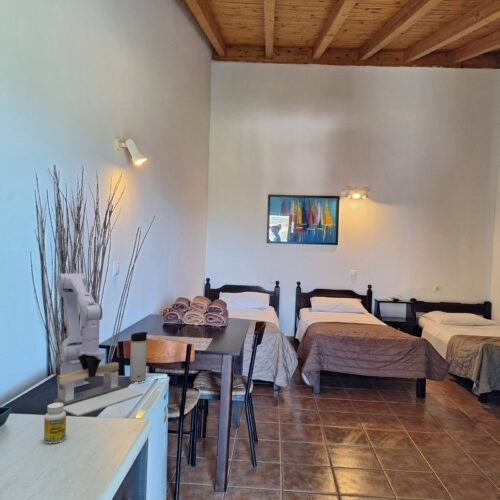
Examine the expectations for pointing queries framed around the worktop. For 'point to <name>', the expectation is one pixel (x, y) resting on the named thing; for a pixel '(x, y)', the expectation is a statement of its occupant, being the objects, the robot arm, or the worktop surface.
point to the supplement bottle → (55, 423)
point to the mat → (101, 401)
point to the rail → (86, 373)
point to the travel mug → (138, 357)
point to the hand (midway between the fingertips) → (89, 376)
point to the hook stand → (69, 397)
